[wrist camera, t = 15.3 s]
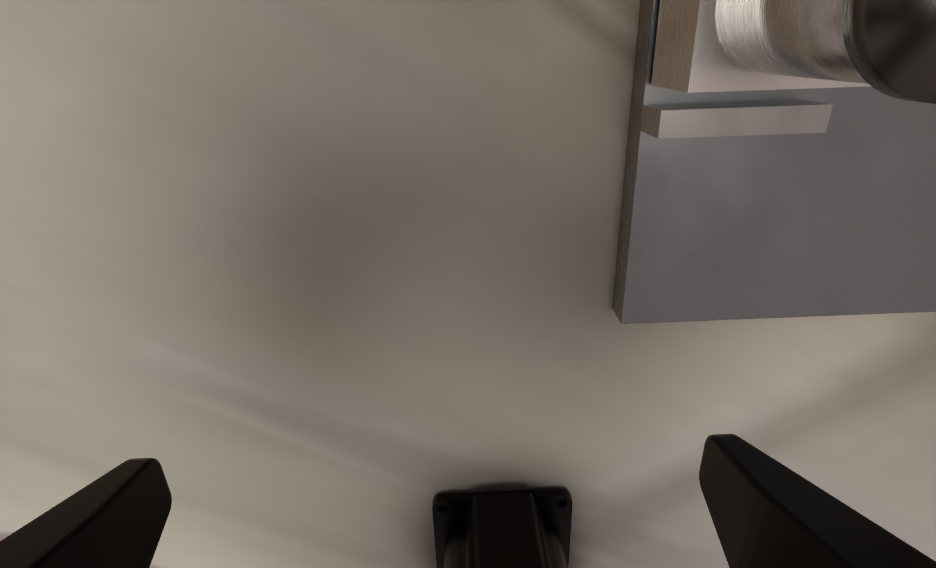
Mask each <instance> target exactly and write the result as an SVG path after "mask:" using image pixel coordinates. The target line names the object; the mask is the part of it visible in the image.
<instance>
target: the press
mask: <svg viewBox="0 0 936 568" xmlns="http://www.w3.org/2000/svg"><path fill="white" fill-rule="evenodd" d="M659 6H660V0H641V6H640V17H639V28H638V39H637V50H636V61H635V72H634V83H633V94H632V104H631V115H630V126H629V137H628V148H627V159H626V170H625V181H624V192H623V203H622V214H621V225H620V236H619V247H618V258H617V269H616V280H615V291H614V302H613V310H614V312H615V314H616V316H617V317H618V319H619V321H620V322H621V324H628V323H654V322H679V321H705V320H731V319H756V318H782V317H807V316H833V315H859V314H884V313H910V312H935V311H936V104H931V103H923V102H915V101H908V100H902V99H897V98H894V97H891V96H888V95H885V94H883V93H881V92H880V91H878V90H876V89H874V88H873V87H872V86H865V87H837V88H809V89H781V90H753V91H724V92H696V93H686V92H682V91H677V90H672V89H668V88H663V87H658V86H653V85H651V83H652V73H653V64H654V54H655V45H656V35H657V26H658V16H659Z"/></svg>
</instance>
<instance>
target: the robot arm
mask: <svg viewBox="0 0 936 568" xmlns="http://www.w3.org/2000/svg"><path fill="white" fill-rule="evenodd" d="M699 480H700V486H701V489H702V492H703V495H704V498H705V500H706V503H707V506H708V509H709V512H710V514H711V517H712V520H713V523H714V526H715V528H716V531H717V534H718V537H719V540H720V542H721V545H722V548H723V551H724V554H725V556H726V559H727V562H728V565H729V567H730V568H936V561H934V560H932V559H931V558H929V557H928V556H926V555H924V554H923V553H921V552H920V551H918V550H917V549H915V548H913V547H912V546H910V545H909V544H907V543H906V542H904V541H902V540H901V539H899V538H898V537H896V536H894V535H893V534H891V533H890V532H888V531H887V530H885V529H883V528H882V527H880V526H879V525H877V524H876V523H874V522H872V521H871V520H869V519H868V518H866V517H864V516H863V515H861V514H860V513H858V512H857V511H855V510H853V509H852V508H850V507H849V506H847V505H846V504H844V503H842V502H841V501H839V500H838V499H836V498H834V497H833V496H831V495H830V494H828V493H827V492H825V491H823V490H822V489H820V488H819V487H817V486H816V485H814V484H812V483H811V482H809V481H808V480H806V479H805V478H803V477H801V476H800V475H798V474H797V473H795V472H793V471H792V470H790V469H789V468H787V467H786V466H784V465H782V464H781V463H779V462H778V461H776V460H775V459H773V458H771V457H770V456H768V455H767V454H765V453H763V452H762V451H760V450H759V449H757V448H756V447H754V446H752V445H751V444H749V443H748V442H746V441H745V440H743V439H741V438H740V437H738V436H736V435H734V434H716V435H710V436H708V437H707V439H706V441H705V445H704V451H703V456H702V461H701V466H700V471H699ZM562 499H563V500H562ZM559 500H562V501H559ZM171 503H172V498H171V492H170V490H169V487H168V484H167V481H166V478H165V475H164V473H163V470H162V467H161V464H160V462H159V461H158V460H157V459H154V458H136V459H129V460H127V461H125V462H123V463H122V464H120V465H119V466H117V467H116V468H114V469H113V470H111V471H109V472H108V473H106V474H105V475H103V476H102V477H100V478H98V479H97V480H95V481H94V482H92V483H91V484H89V485H87V486H86V487H84V488H83V489H81V490H80V491H78V492H77V493H75V494H73V495H72V496H70V497H69V498H67V499H66V500H64V501H62V502H61V503H59V504H58V505H56V506H55V507H53V508H52V509H50V510H48V511H47V512H45V513H44V514H42V515H41V516H39V517H37V518H36V519H34V520H33V521H31V522H30V523H28V524H26V525H25V526H23V527H22V528H20V529H19V530H17V531H16V532H14V533H12V534H11V535H9V536H8V537H6V538H5V539H3V540H2V541H0V568H149V567H150V564H151V561H152V559H153V556H154V553H155V550H156V548H157V545H158V542H159V540H160V537H161V534H162V531H163V529H164V526H165V523H166V520H167V518H168V515H169V512H170V509H171ZM442 504H444V505H445V506H442ZM571 517H572V499H571V495H570V493H569V492H568V491H567V490H565V489H546V490H522V491H498V492H474V493H450V494H439V495H437V496H435V498H434V499H433V521H434V534H435V546H436V559H437V568H568V561H569V546H570V531H571Z"/></svg>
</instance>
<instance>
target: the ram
mask: <svg viewBox="0 0 936 568" xmlns="http://www.w3.org/2000/svg"><path fill="white" fill-rule="evenodd" d="M651 85H653V86H658V87H663V88H668V89H672V90H677V91H682V92H686V93H696V92H724V91H753V90H781V89H809V88H837V87H865V86H872V87H873V88H874V89H876V90H878V91H880V92H881V93H883V94H885V95H888V96H891V97H894V98H897V99H902V100H908V101H915V102H923V103H931V104H936V0H660V6H659V16H658V26H657V35H656V45H655V54H654V64H653V73H652V83H651Z"/></svg>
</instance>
